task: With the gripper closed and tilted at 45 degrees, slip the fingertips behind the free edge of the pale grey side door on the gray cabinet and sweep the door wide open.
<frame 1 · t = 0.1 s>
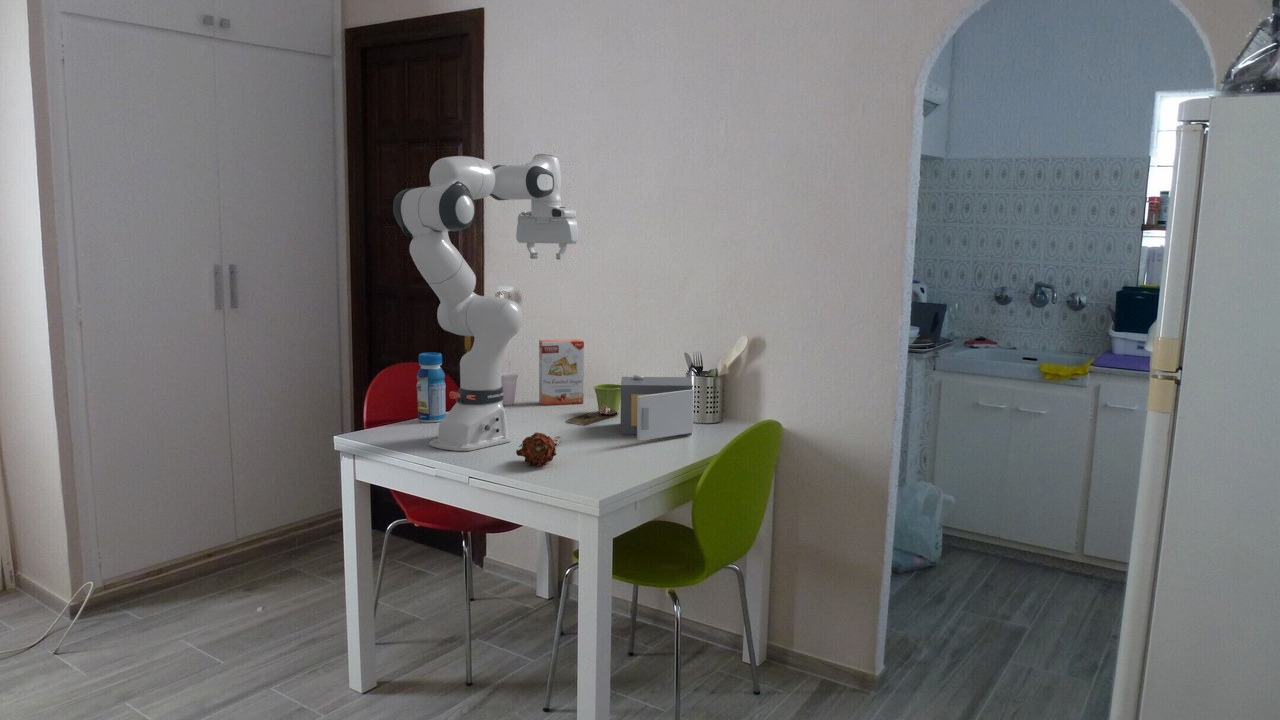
hand: (546, 259, 272), 48 cm above the table, tool pointing down, fingers open, 8 cm apart
beverage bottle: (432, 420, 276), on the table
plant pot: (608, 414, 286), on the table
smoothie: (508, 404, 301), on the table
dragon fruit: (536, 464, 227), on the table
side door: (666, 415, 251), point 7 cm above the table, hinge at 35.0°
cracker box: (561, 403, 303), on the table
gray cabinet: (655, 429, 266), on the table
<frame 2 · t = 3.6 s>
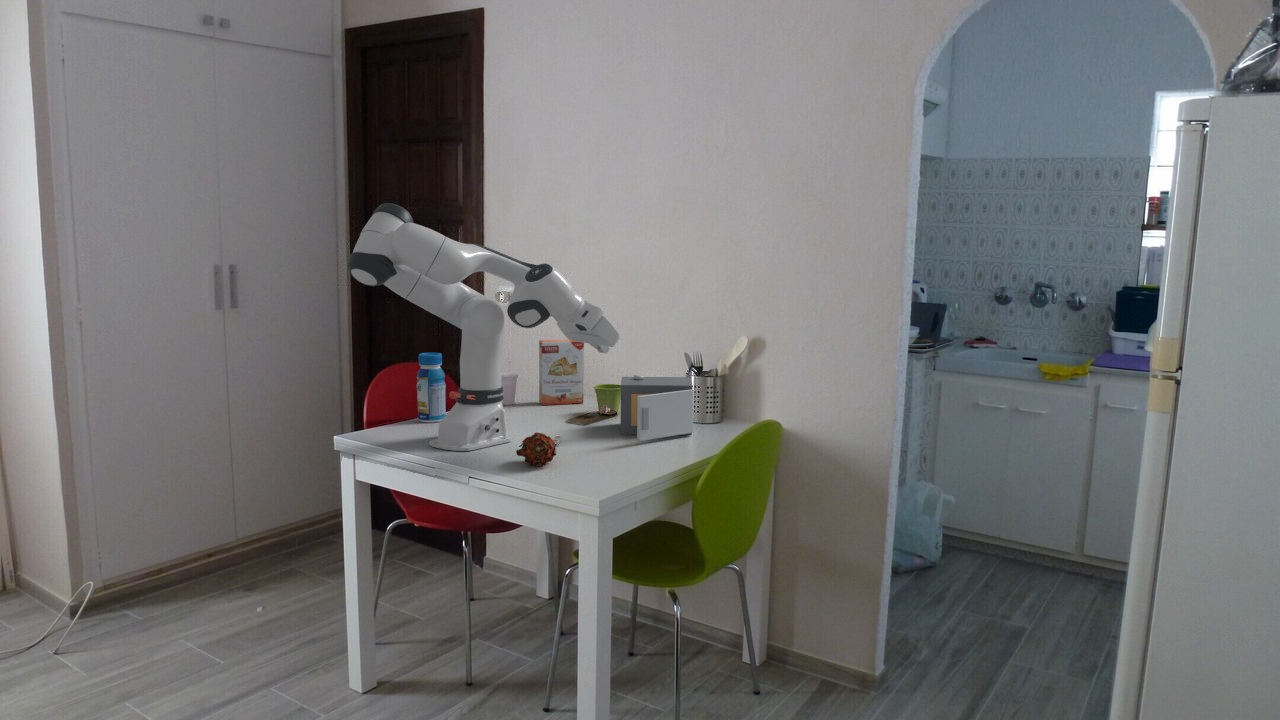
hand: (605, 351, 242), 25 cm above the table, tool tilted 45°, fingers closed
nothing on the table moved.
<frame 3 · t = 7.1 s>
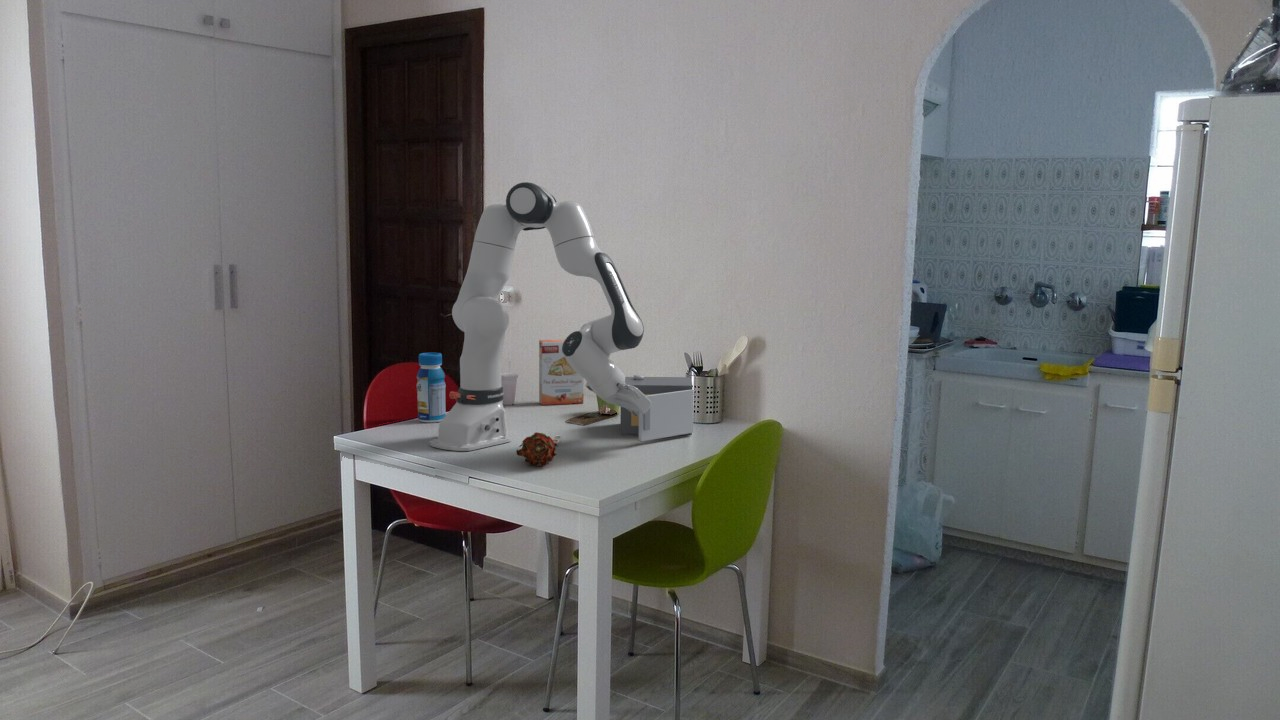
hand: (639, 414, 249), 8 cm above the table, tool tilted 45°, fingers closed
side door: (667, 415, 251), point 7 cm above the table, hinge at 37.1°, touching gripper
everything else where it was.
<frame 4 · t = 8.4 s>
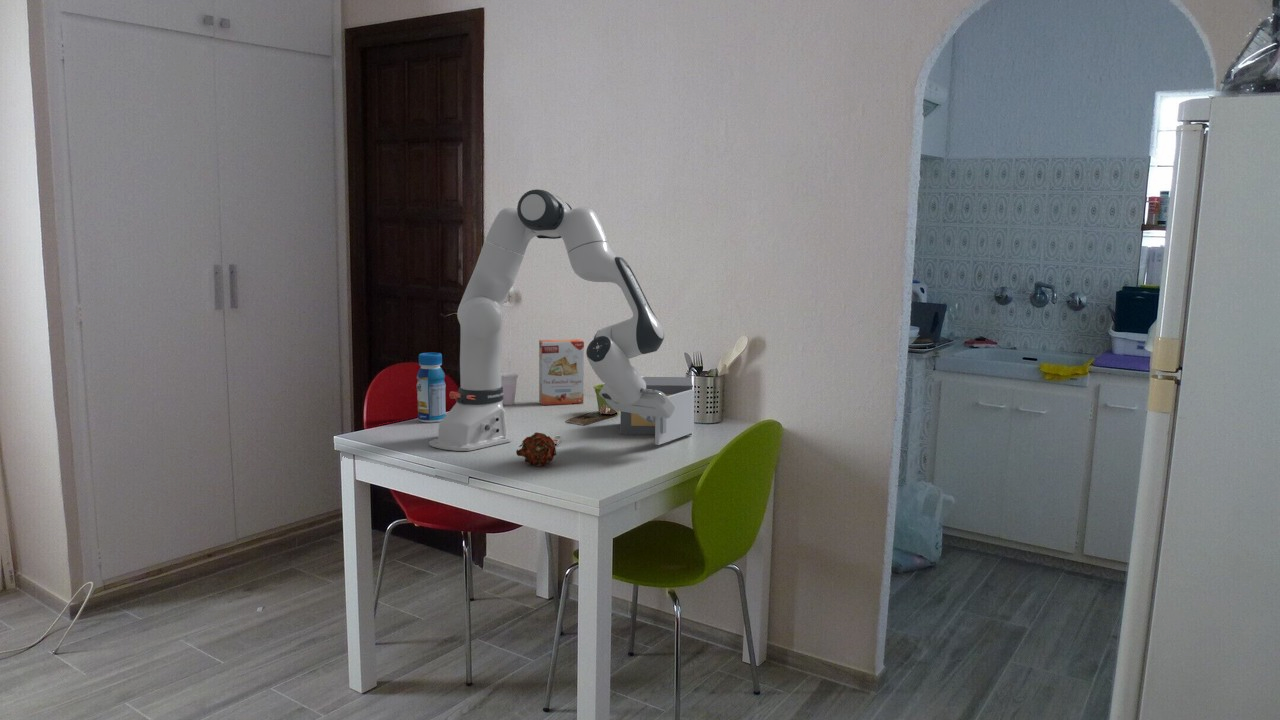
hand: (653, 420, 245), 7 cm above the table, tool tilted 45°, fingers closed
side door: (676, 416, 249), point 7 cm above the table, hinge at 56.3°, touching gripper
everything else where it was.
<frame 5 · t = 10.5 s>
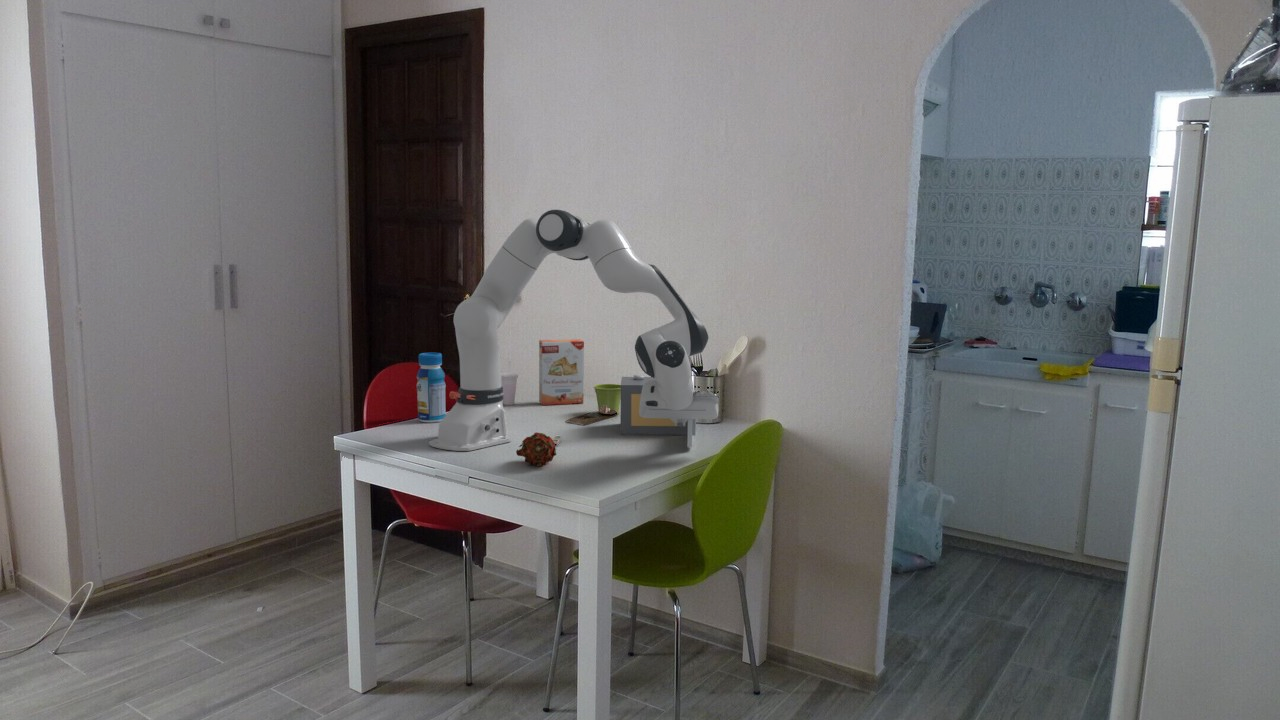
hand: (680, 424, 241), 7 cm above the table, tool tilted 45°, fingers closed
side door: (692, 417, 248), point 7 cm above the table, hinge at 84.9°, touching gripper
everything else where it was.
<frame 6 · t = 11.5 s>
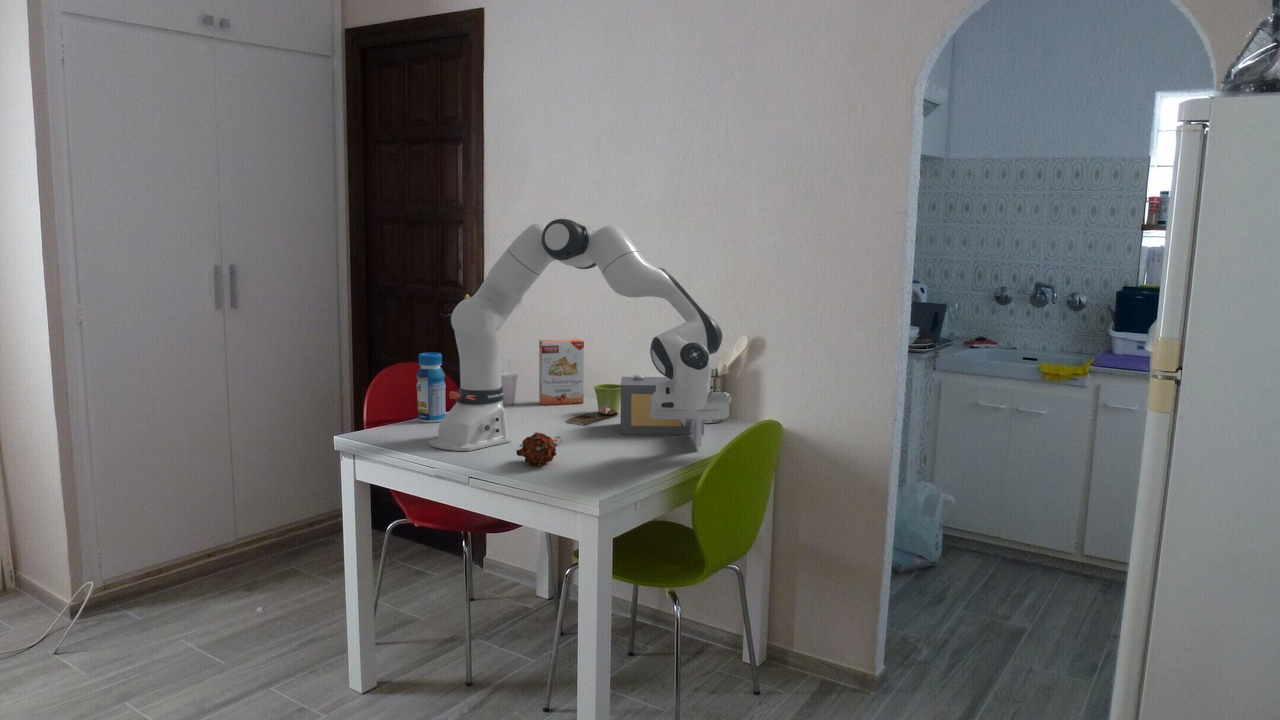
hand: (688, 424, 241), 7 cm above the table, tool tilted 45°, fingers closed
side door: (697, 417, 248), point 7 cm above the table, hinge at 92.4°, touching gripper
everything else where it was.
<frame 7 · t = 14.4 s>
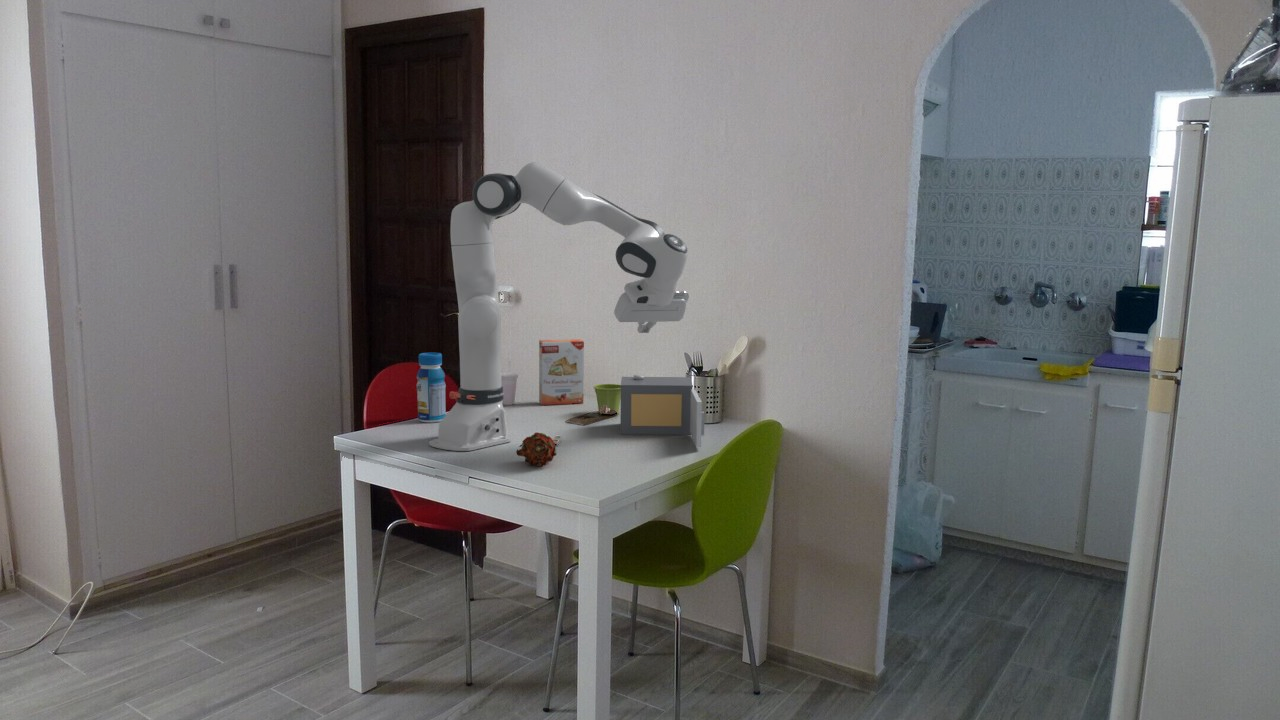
hand: (642, 331, 255), 29 cm above the table, tool tilted 35°, fingers closed
side door: (697, 417, 248), point 7 cm above the table, hinge at 92.4°
everything else where it was.
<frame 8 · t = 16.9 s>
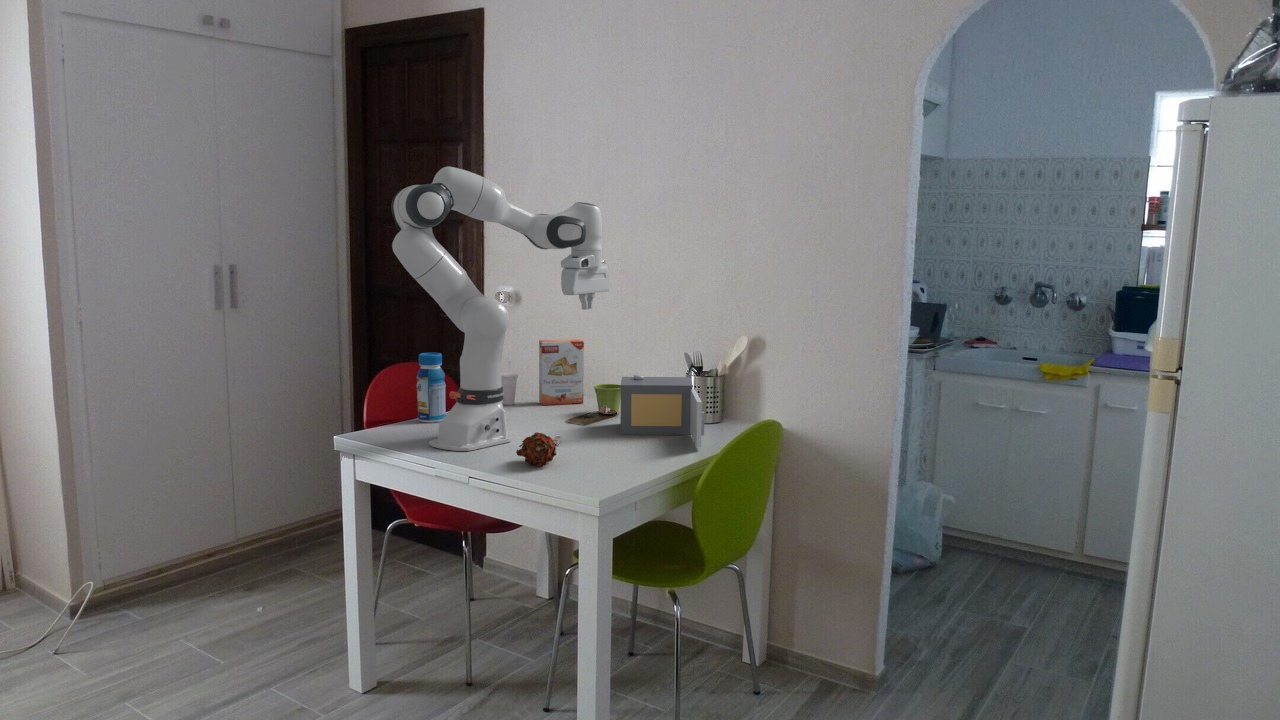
hand: (586, 309, 264), 34 cm above the table, tool pointing down, fingers closed
nothing on the table moved.
at the end: side door at +92° (first picture: +35°); the gripper is holding nothing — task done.
